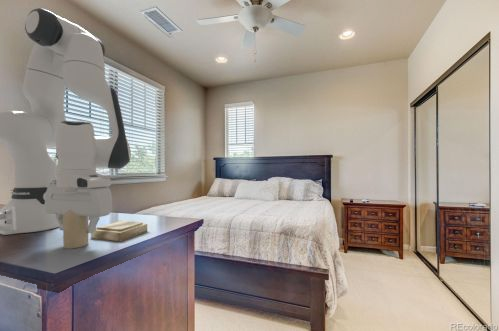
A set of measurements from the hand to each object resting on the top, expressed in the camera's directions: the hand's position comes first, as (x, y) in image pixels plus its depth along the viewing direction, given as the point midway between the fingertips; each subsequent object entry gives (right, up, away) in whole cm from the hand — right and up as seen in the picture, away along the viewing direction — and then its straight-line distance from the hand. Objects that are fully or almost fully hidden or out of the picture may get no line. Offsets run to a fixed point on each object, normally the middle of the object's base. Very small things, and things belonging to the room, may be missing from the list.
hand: (77, 231), depth 67 cm
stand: (+6, -4, +10) cm, 13 cm away
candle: (0, -4, 0) cm, 4 cm away
